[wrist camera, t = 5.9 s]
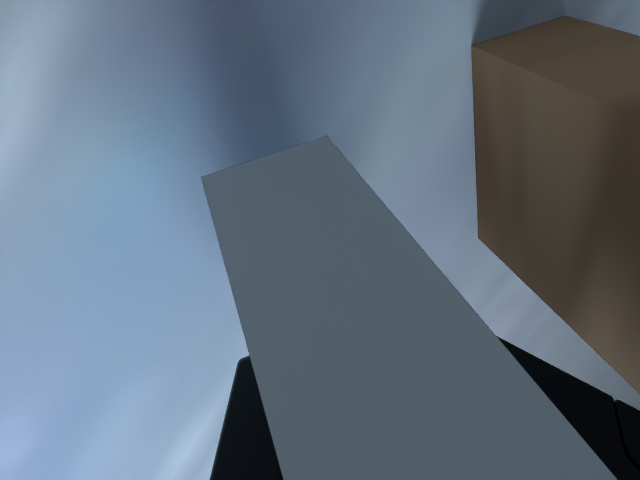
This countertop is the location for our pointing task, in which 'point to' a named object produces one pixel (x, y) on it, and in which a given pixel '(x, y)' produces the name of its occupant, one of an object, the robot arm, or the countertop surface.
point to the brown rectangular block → (565, 174)
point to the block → (372, 338)
